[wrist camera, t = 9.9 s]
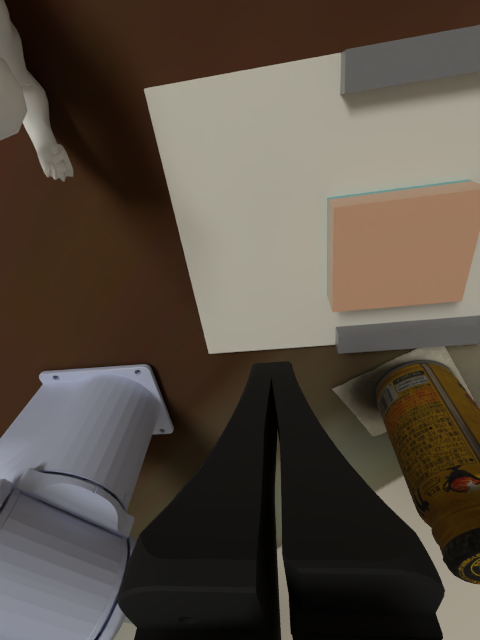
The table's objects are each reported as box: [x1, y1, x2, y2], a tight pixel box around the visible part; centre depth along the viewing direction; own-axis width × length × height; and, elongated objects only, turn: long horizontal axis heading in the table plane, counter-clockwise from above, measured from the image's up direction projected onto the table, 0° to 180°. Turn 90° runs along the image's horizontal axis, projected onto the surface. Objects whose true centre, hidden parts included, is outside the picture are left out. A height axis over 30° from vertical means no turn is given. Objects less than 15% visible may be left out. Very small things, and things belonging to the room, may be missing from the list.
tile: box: [327, 180, 480, 312], centre depth 18 cm, size 2×6×7 cm
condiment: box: [332, 346, 480, 584], centre depth 21 cm, size 7×8×12 cm
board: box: [144, 25, 480, 354], centre depth 18 cm, size 18×16×2 cm
